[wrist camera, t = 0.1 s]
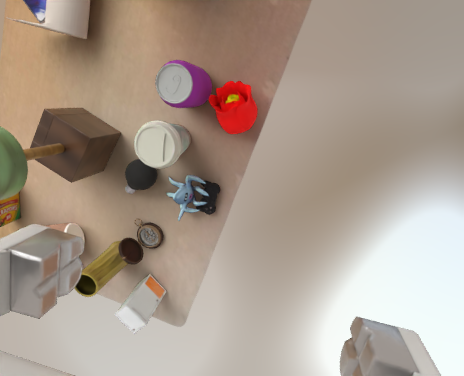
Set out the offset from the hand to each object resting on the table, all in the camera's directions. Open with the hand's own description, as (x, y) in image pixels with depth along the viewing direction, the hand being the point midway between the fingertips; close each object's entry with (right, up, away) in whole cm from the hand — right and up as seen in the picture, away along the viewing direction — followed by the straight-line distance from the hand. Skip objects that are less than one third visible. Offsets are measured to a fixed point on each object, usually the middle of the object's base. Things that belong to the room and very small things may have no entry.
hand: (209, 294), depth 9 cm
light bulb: (-18, +6, +60) cm, 63 cm away
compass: (-19, -7, +64) cm, 67 cm away
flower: (+3, +15, +52) cm, 55 cm away
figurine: (-8, +1, +60) cm, 61 cm away
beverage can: (-7, +23, +53) cm, 59 cm away
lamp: (-30, +14, +60) cm, 68 cm away
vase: (-26, -12, +67) cm, 72 cm away
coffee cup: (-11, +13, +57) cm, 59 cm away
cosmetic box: (-18, -21, +67) cm, 73 cm away
